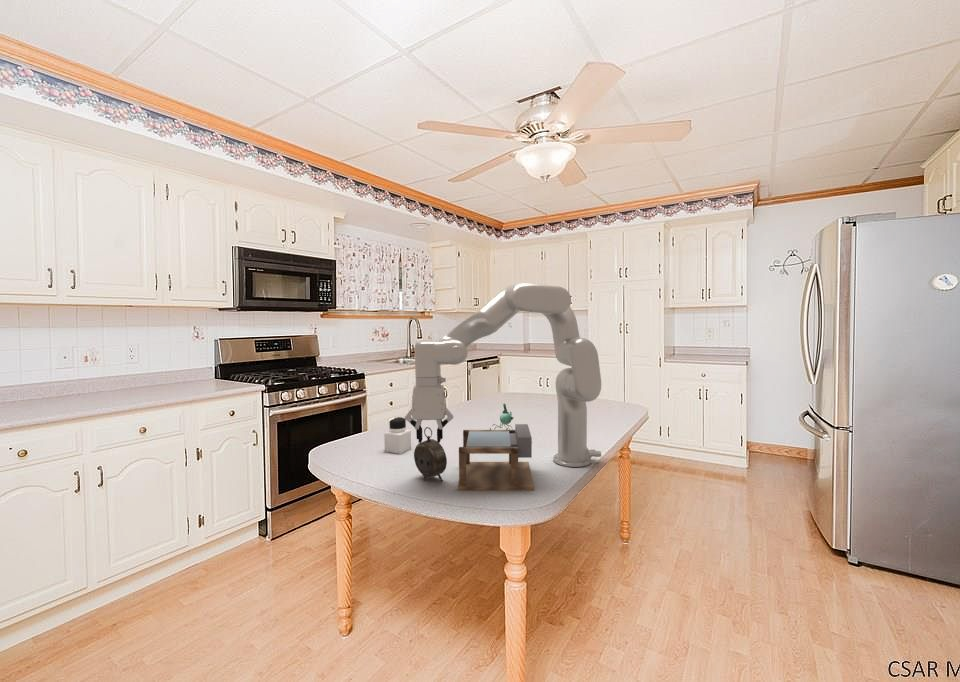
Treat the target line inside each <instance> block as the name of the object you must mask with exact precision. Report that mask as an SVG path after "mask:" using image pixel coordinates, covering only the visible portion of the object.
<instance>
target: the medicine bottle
mask: <svg viewBox="0 0 960 682" xmlns="http://www.w3.org/2000/svg"><path fill="white" fill-rule="evenodd" d="M406 422H407V420H405V417H399V416H398V417H397V416H396V417H391V418H390V419H389V420H388V429H389V430H387V431H385V432H384V433H383V438H384V452H385V453H393V454H396V455H397V454H400V455H401V454H403V453H405V452H407V451H409V450H410V449H412V433H411V432H412V431H411V429H406V428H407V426H406V425H407V424H406Z"/></svg>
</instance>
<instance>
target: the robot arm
mask: <svg viewBox="0 0 960 682" xmlns="http://www.w3.org/2000/svg"><path fill="white" fill-rule="evenodd" d="M571 304H572V296H571V294H570V292H569V291H568V290H567V289H566V288H565V287H562V286H559V285H547V284H535V283H526V282H525V283H524V282H523V283H513V284H510V285H507V286H506V287H505V288H504V289H502V290H501V291H500V292H498V293H497V294H496V295H495V296H494V297H493V298H492V299H491V300H489V301H488V302H487V303H486V304H484V306H482V307H481V308H480V309H478V310H477V311H476V312H475V313H473V314H471V315H470V316H469V317H468V318H465V320H463V321H462V322H460V323H459V324H458V325H456V326H455V327H454V328H453V329H451V330H450V331H448V332H447V333H446V334H445V335H444V336H443V337H441V339H440V340H438V341H437V340H419V341H417V342H415V345H414V361H415V362H414V369H415V370H414V372H415V374H414V375H415V385H414V386H413V389H412V394H411V395H412V397H411V408H410V410H409V411H408V412H407V414H405V416H404V419H405V420H406V422H408V423H410V425H411V426H412V427H414V429H415V430H416V432H415V433H416V434H415V435H416V440H418V444H419V443H421V442H423V427H422V422H423V421H436V425H437V429H436V441H437V442H438V443H439V444H440V443H441V440H442V439H443V437H444V435H443V432H444V431H443V428H445V426H446V425H447V424H448V423H450V422H451V421H452V420H453V419H454V414H453V413H451V411H450V410H449V408H448V407H447V398H446V397H447V396H446V390H445V386H444V385H443V383H446V377H442V375H441V374H442V373H441V370H442V369H441V365H452V366H455V365H456V366H457V365H460V364H462V363H463V362H465V360H466V359H467V358H468V353H469V352H468V348H467V347H469V346H470V345H471V344H473V343H474V342H475V341H477V340H479V339H482V338H485V337H488V336H490V335H492V334H494V333H496V332H497V331H498V330H500V329H501V328H502V327H503V326H504V325H505V324H507V323H508V321H510V320H511V319H512V318H514V317H515V316H516V315H517V314H518V313H519V312H527V313H536V314H538V313H539V314H542V315H543V316H544V317H546V319H547V320H548V322H549V324H550V327H551V332H552V333H551V334H552V338H553V339H552V340H553V347H554V353H555V358H556V360H557V361H558V363H560V364H562V365H565V366H569V367H567V368H564V369H562V370H560V371H559V372H558V374H557V376H556V377H555V390H556V391H555V392H556V398H557V453H555V454H554V455H553V458H552V459H553V462H554V463H556V464H557V465H560V466H563V467H569V468H570V467H571V468H582V467H587V466H588V465H590V464H591V463H592V457H594V458H601V457H602V451H601V450H596V449H589V448H588V445H587V443H588V441H587V438H588V437H587V434H588V429H587V428H588V423H587V422H588V408H587V403H589V402H593V401H595V400H596V399H597V398H598V397H599V396H600V394H601V390H602V376H601V370H600V369H601V368H600V367H601V366H600V360H599V355H598V354H599V353H598V349H597V348H596V346H595V345H594V343H593V342H592V341H591V340H589V339H587V338H585V337H581V335H580V332H579V327H578V322H577V321H578V320H577V318H576V315H575V312H574V311H573V308H572V307H571ZM445 417H446V418H445Z"/></svg>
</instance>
